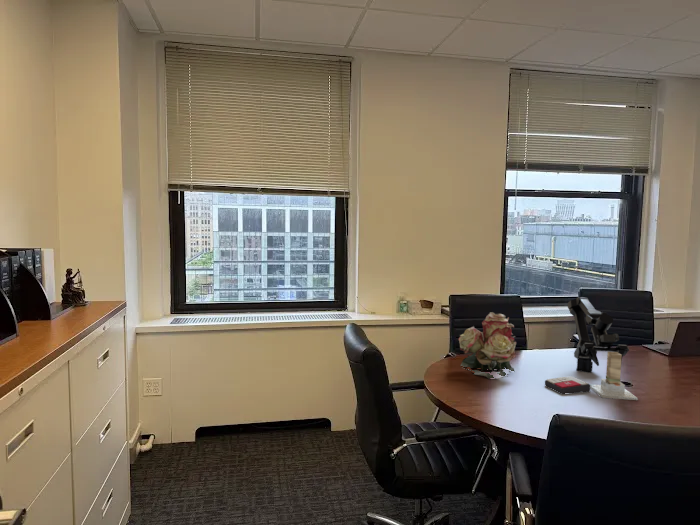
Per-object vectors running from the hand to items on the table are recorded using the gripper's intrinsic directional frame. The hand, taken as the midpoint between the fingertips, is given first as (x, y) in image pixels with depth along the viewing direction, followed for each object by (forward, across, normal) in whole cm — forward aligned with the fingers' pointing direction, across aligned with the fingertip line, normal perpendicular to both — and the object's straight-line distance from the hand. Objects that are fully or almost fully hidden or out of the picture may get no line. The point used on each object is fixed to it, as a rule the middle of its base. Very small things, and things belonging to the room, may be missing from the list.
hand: (609, 366), depth 194 cm
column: (+7, 0, +1) cm, 7 cm away
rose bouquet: (-3, -48, +19) cm, 52 cm away
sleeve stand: (+11, 0, +5) cm, 12 cm away
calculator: (+10, -18, +6) cm, 22 cm away
